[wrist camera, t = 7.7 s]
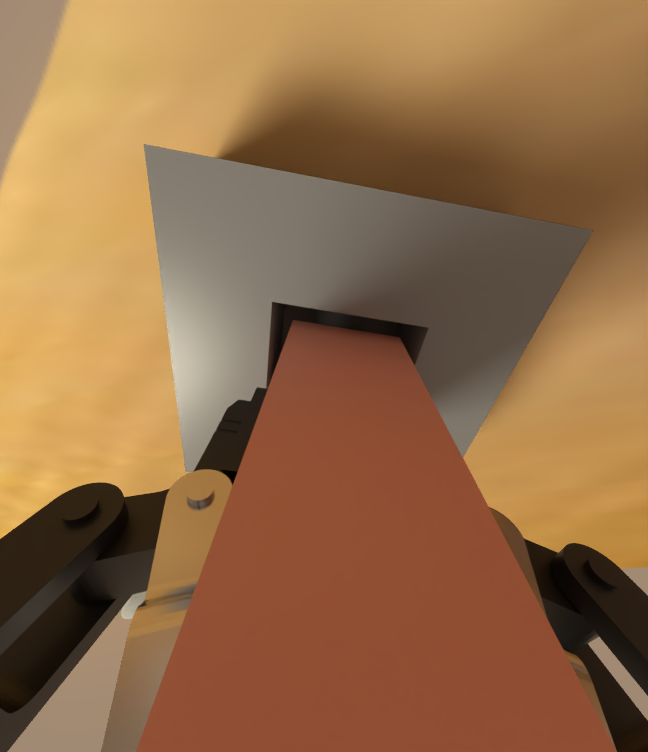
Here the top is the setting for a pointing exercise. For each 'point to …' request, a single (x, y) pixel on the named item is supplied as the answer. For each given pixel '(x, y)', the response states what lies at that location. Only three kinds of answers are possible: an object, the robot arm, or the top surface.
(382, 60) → the top surface
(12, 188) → the top surface
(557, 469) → the top surface
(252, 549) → the plug
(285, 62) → the top surface
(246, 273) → the socket block
